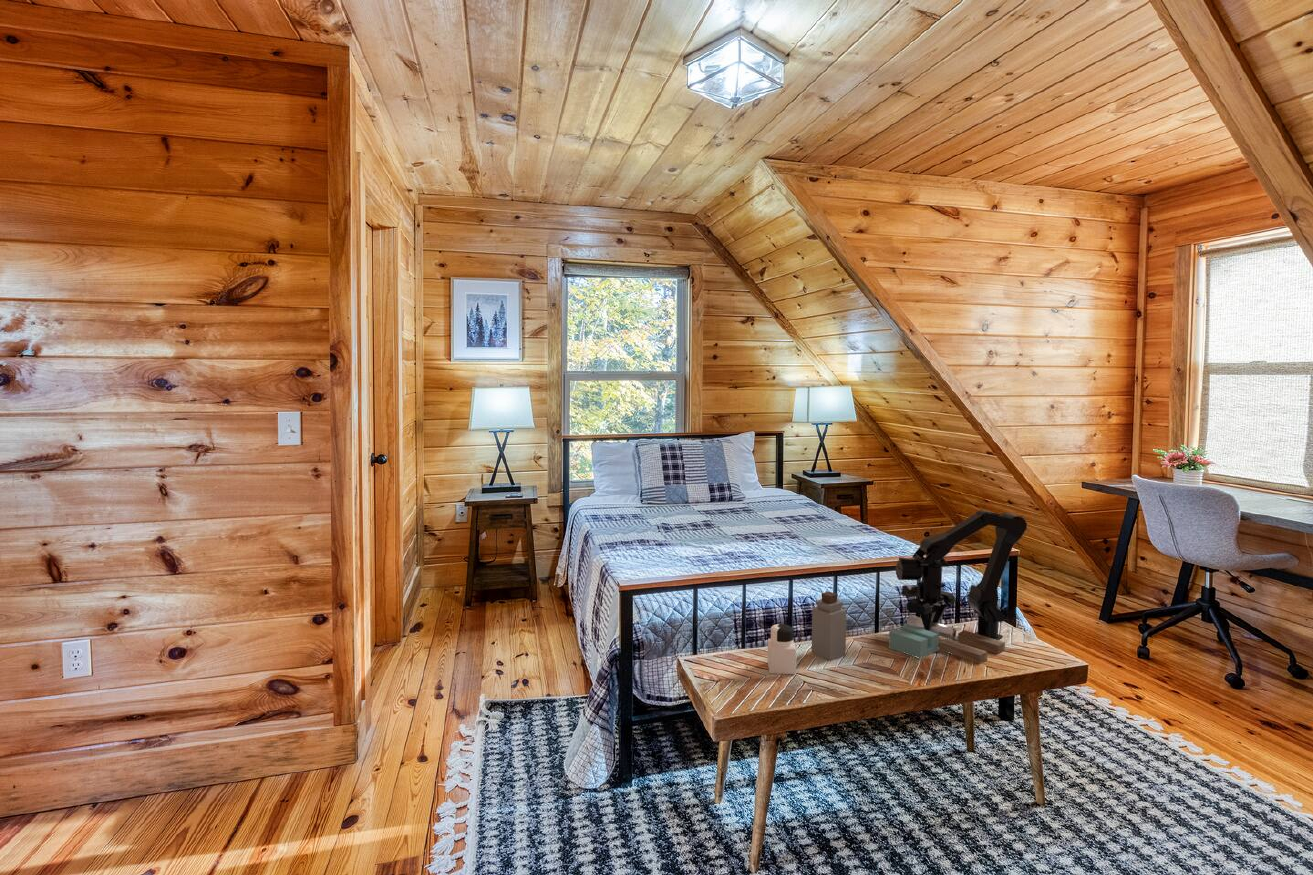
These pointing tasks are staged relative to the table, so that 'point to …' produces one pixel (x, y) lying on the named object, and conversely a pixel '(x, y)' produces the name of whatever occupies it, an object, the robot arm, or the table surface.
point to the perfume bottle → (829, 628)
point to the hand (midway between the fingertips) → (930, 628)
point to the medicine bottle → (781, 650)
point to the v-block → (913, 640)
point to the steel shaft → (933, 627)
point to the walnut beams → (970, 651)
